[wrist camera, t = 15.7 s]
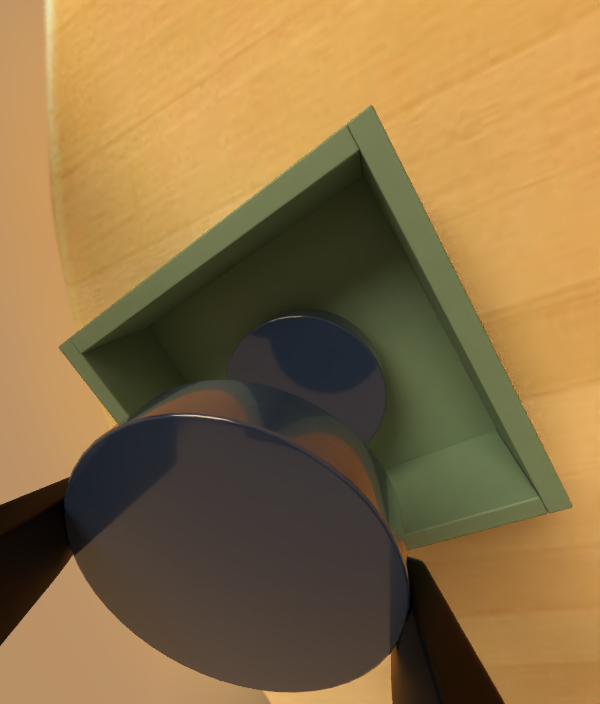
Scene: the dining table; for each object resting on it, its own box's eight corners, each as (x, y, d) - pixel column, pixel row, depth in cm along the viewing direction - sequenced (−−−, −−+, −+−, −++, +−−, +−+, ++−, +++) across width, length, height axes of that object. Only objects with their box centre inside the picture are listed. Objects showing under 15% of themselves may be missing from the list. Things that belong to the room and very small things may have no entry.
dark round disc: (291, 453, 19) (279, 484, 16) (218, 346, 17) (195, 363, 15) (411, 403, 16) (417, 430, 14) (337, 274, 15) (331, 282, 13)
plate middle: (233, 606, 11) (195, 707, 8) (91, 430, 9) (1, 493, 7) (451, 551, 8) (481, 672, 6) (300, 305, 7) (266, 339, 5)
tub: (276, 513, 21) (249, 592, 17) (137, 318, 19) (57, 347, 14) (515, 429, 16) (573, 507, 12) (371, 148, 14) (371, 103, 9)
